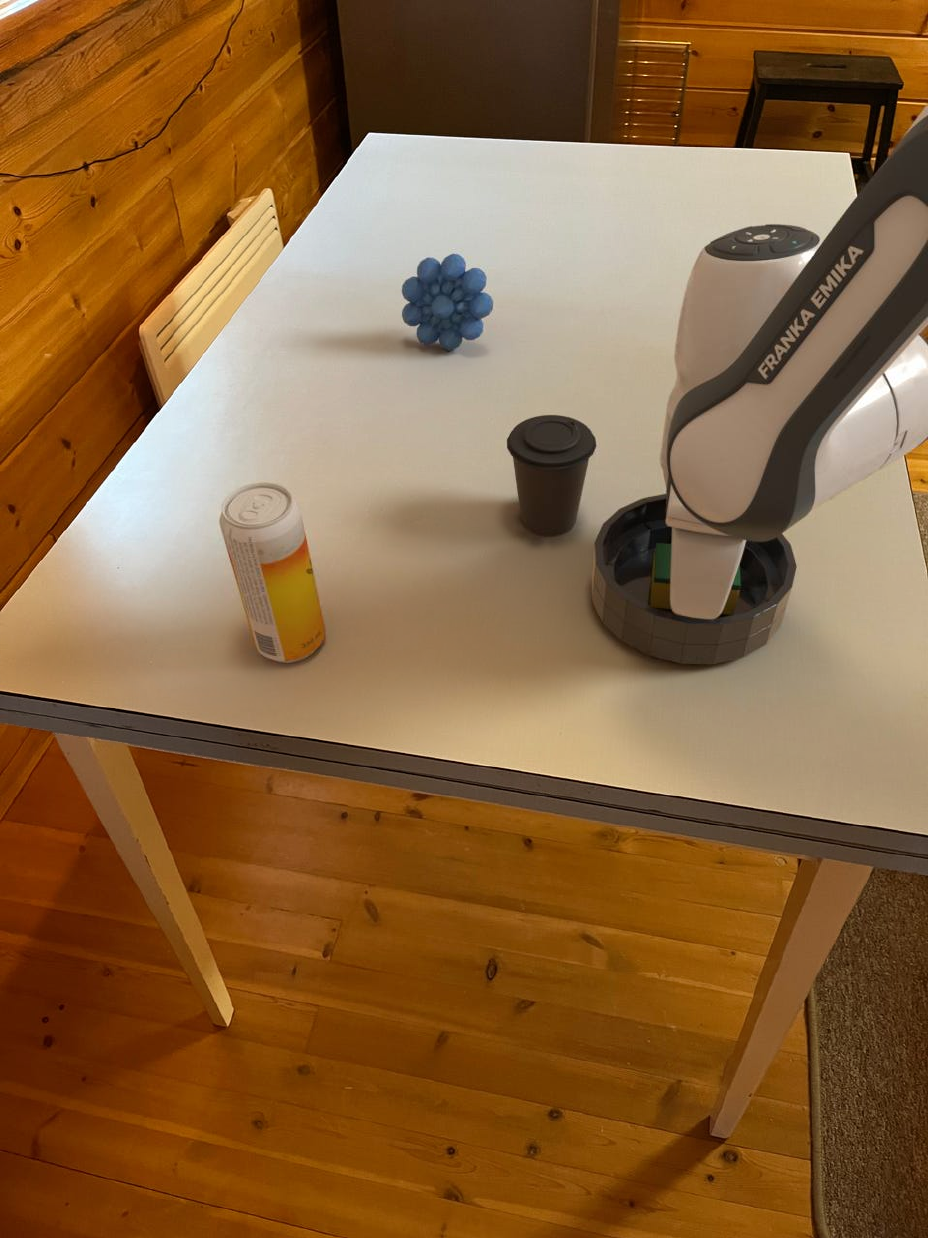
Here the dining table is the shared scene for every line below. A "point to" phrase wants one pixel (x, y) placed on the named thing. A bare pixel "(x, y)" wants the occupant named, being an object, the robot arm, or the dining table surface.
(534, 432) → the coffee cup
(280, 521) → the beer can
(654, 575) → the sponge
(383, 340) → the dining table surface
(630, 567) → the bowl
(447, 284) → the blue knobbed flower
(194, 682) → the dining table surface
